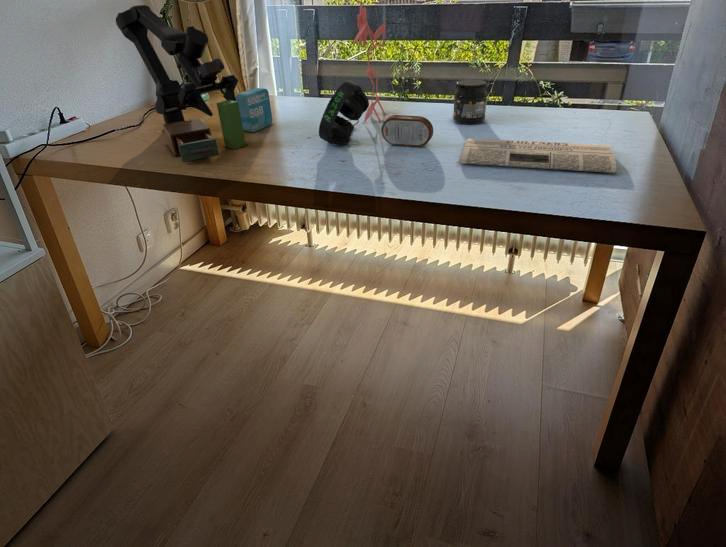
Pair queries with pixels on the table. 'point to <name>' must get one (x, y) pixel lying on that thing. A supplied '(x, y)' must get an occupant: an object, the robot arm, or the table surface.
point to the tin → (407, 130)
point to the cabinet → (183, 131)
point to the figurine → (361, 36)
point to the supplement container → (470, 101)
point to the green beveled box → (231, 124)
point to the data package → (254, 109)
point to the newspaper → (539, 155)
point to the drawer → (196, 146)
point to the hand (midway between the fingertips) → (224, 111)
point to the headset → (349, 105)
